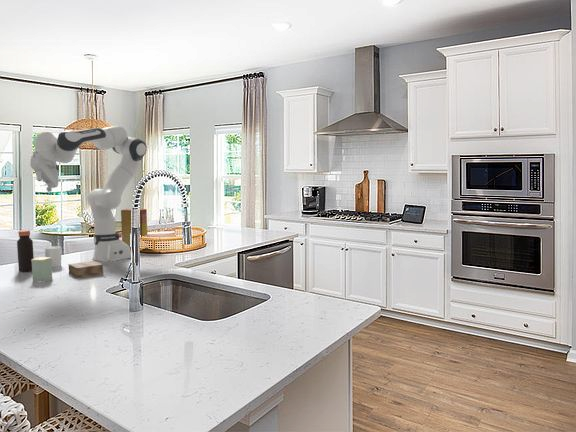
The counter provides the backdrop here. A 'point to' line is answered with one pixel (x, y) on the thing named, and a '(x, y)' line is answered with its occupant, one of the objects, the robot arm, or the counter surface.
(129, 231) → the food packaging
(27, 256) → the bottle
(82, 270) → the walnut block
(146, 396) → the counter surface
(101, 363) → the counter surface
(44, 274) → the tin
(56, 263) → the white cup
